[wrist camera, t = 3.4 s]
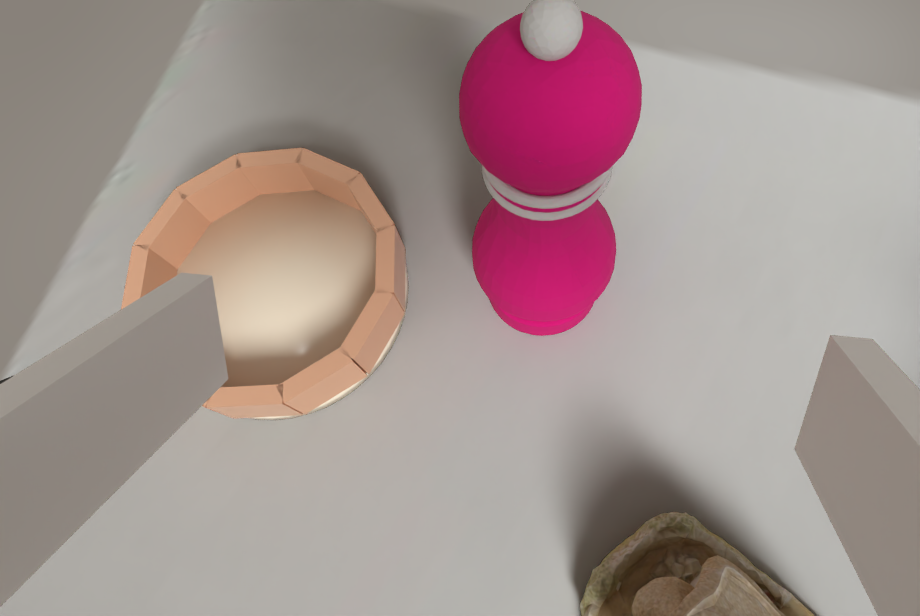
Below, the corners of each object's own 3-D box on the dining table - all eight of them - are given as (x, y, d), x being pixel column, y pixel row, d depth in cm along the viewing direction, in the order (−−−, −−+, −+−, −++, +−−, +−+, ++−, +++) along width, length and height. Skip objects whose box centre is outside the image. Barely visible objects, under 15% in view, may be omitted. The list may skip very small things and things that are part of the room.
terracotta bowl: (455, 328, 35) (447, 303, 31) (223, 472, 33) (184, 464, 30) (337, 147, 40) (317, 107, 36) (132, 265, 39) (89, 236, 35)
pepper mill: (632, 285, 35) (750, -8, 16) (540, 371, 33) (551, 164, 15) (542, 206, 37) (552, -129, 18) (453, 284, 36) (368, 10, 17)
